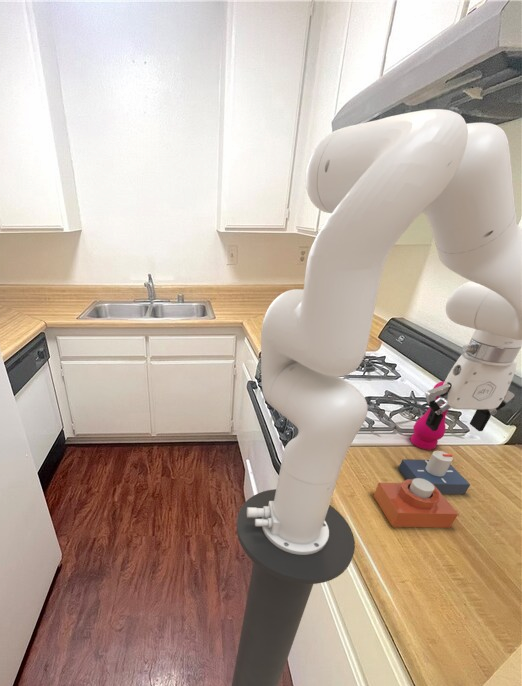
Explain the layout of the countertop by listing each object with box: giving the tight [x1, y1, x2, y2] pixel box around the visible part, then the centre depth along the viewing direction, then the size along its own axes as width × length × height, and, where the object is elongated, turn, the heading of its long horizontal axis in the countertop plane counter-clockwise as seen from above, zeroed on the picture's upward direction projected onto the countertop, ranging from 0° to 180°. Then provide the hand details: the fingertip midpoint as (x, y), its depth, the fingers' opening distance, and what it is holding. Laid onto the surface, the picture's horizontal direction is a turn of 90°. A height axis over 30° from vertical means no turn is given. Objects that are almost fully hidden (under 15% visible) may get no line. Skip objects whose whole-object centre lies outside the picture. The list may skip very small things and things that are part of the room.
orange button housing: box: [373, 479, 459, 529], centre depth 73 cm, size 12×9×6 cm
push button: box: [409, 478, 434, 498], centre depth 71 cm, size 4×4×2 cm
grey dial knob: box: [426, 450, 454, 477], centre depth 80 cm, size 4×4×5 cm
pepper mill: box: [410, 380, 452, 450], centre depth 91 cm, size 7×7×20 cm
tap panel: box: [398, 458, 471, 495], centre depth 82 cm, size 11×9×3 cm
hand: (453, 427), depth 74 cm, fingers open, 9 cm apart
